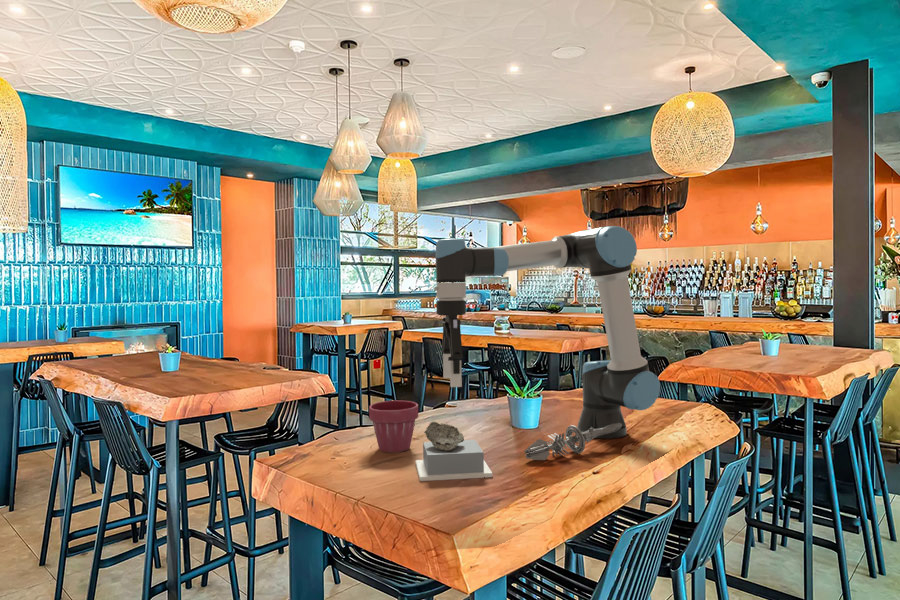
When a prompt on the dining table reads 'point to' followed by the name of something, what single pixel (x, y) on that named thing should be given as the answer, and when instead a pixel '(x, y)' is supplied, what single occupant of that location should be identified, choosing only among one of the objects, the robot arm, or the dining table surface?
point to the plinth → (452, 462)
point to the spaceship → (567, 441)
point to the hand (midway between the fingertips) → (452, 382)
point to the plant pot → (394, 424)
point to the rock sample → (443, 436)
